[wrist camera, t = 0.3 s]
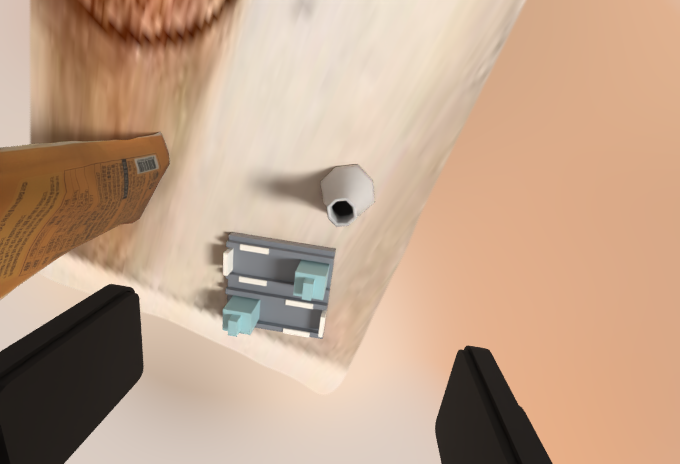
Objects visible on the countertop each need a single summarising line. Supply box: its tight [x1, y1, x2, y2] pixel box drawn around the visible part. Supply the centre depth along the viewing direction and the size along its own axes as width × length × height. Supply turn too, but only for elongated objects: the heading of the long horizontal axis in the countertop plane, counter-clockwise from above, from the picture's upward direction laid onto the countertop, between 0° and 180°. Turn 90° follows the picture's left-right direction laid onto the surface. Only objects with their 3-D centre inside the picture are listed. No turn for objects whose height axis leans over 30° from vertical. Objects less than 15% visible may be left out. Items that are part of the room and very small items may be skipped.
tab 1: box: [223, 295, 260, 337], centre depth 47 cm, size 4×4×6 cm
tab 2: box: [293, 259, 330, 301], centre depth 44 cm, size 4×4×6 cm
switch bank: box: [223, 232, 336, 339], centre depth 48 cm, size 14×15×3 cm
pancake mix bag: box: [0, 132, 169, 300], centre depth 33 cm, size 7×19×28 cm, turn 143°
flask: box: [320, 164, 375, 227], centre depth 39 cm, size 7×7×10 cm
